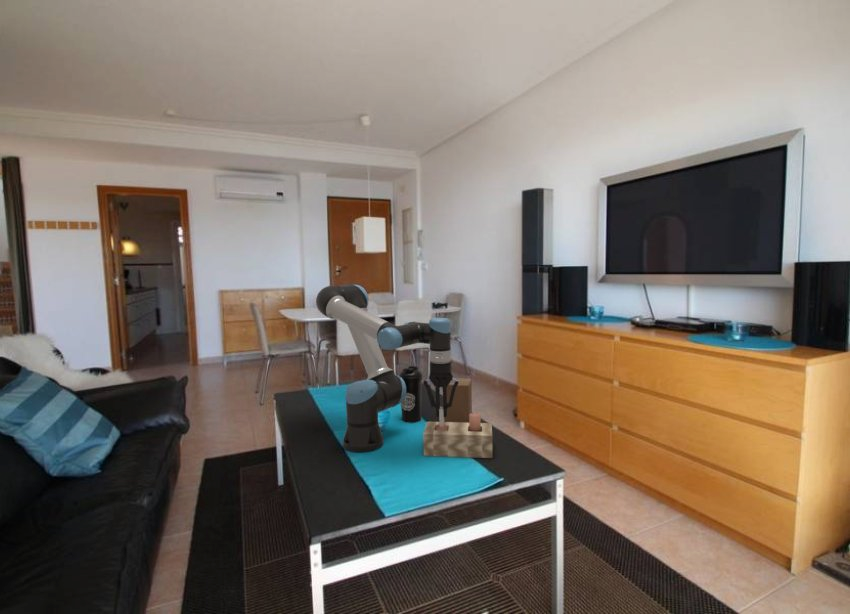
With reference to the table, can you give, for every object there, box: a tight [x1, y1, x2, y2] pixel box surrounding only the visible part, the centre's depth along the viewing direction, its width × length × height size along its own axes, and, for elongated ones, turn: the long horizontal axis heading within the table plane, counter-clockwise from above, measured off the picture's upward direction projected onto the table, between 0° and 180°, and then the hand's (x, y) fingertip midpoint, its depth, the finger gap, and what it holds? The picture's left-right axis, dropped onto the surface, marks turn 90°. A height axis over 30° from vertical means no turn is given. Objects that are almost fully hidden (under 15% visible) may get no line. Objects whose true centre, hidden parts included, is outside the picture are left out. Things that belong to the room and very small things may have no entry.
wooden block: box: [444, 377, 473, 423], centre depth 178 cm, size 10×10×20 cm
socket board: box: [422, 421, 493, 459], centre depth 158 cm, size 24×12×8 cm, turn 83°
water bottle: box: [398, 365, 423, 424], centre depth 190 cm, size 10×10×23 cm
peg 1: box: [436, 424, 447, 431], centre depth 159 cm, size 4×4×8 cm
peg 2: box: [469, 412, 482, 432], centre depth 157 cm, size 4×4×8 cm
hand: (441, 425), depth 159 cm, fingers closed
